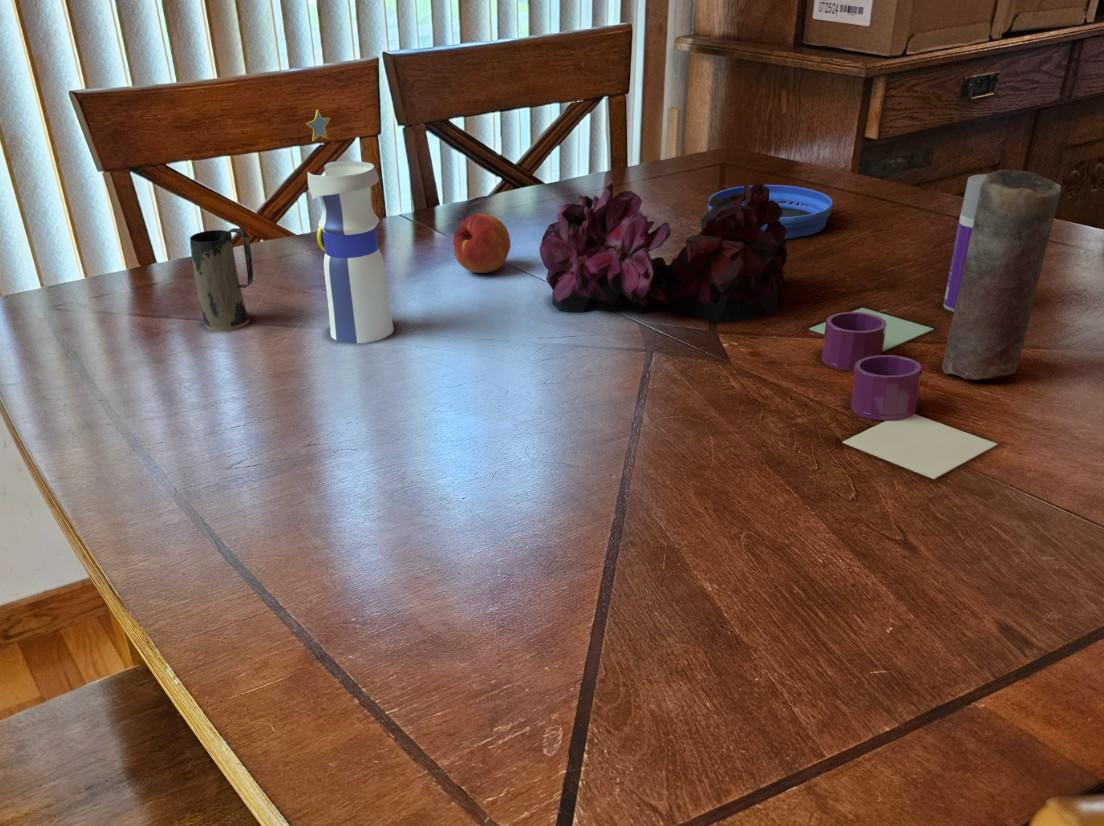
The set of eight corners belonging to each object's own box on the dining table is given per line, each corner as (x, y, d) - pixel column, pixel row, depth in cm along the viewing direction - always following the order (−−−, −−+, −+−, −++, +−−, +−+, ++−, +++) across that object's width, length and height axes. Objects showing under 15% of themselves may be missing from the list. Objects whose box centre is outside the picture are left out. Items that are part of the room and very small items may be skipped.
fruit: (446, 268, 154) (441, 210, 149) (499, 259, 156) (497, 202, 151) (465, 284, 147) (461, 224, 143) (520, 275, 150) (518, 215, 145)
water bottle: (312, 341, 132) (279, 120, 118) (350, 317, 139) (323, 105, 125) (370, 350, 129) (344, 123, 115) (406, 325, 136) (385, 108, 122)
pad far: (933, 331, 127) (934, 328, 127) (880, 354, 122) (881, 351, 122) (862, 309, 134) (862, 307, 133) (808, 330, 129) (809, 328, 128)
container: (962, 317, 130) (988, 186, 122) (934, 305, 134) (958, 177, 125) (992, 310, 132) (1020, 180, 123) (964, 298, 135) (989, 171, 127)
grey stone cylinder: (993, 357, 120) (1036, 165, 109) (1031, 383, 114) (1080, 183, 103) (928, 364, 119) (964, 172, 108) (963, 391, 113) (1005, 190, 102)
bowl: (682, 227, 165) (683, 203, 163) (755, 201, 175) (757, 178, 173) (782, 250, 154) (784, 224, 152) (853, 221, 164) (857, 197, 162)
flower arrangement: (774, 273, 146) (786, 155, 138) (801, 326, 130) (817, 196, 121) (541, 279, 148) (538, 163, 139) (539, 333, 132) (536, 205, 123)
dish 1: (891, 361, 120) (898, 322, 118) (856, 377, 117) (862, 336, 115) (845, 346, 124) (850, 307, 122) (809, 361, 121) (814, 321, 119)
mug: (195, 329, 138) (175, 233, 131) (219, 314, 142) (201, 220, 135) (250, 335, 135) (232, 237, 128) (272, 319, 139) (256, 223, 133)
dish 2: (928, 407, 109) (934, 364, 107) (890, 426, 106) (895, 381, 104) (876, 392, 114) (880, 350, 111) (838, 409, 111) (841, 367, 108)
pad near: (997, 446, 103) (997, 443, 102) (934, 481, 98) (934, 478, 98) (905, 413, 109) (906, 410, 109) (842, 444, 104) (842, 441, 104)
